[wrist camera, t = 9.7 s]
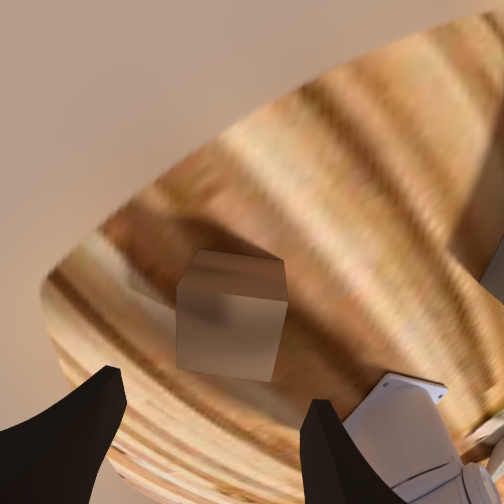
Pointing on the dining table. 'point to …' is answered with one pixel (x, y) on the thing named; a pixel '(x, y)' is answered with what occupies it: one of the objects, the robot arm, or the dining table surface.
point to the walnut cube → (230, 315)
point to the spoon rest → (496, 461)
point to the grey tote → (495, 274)
